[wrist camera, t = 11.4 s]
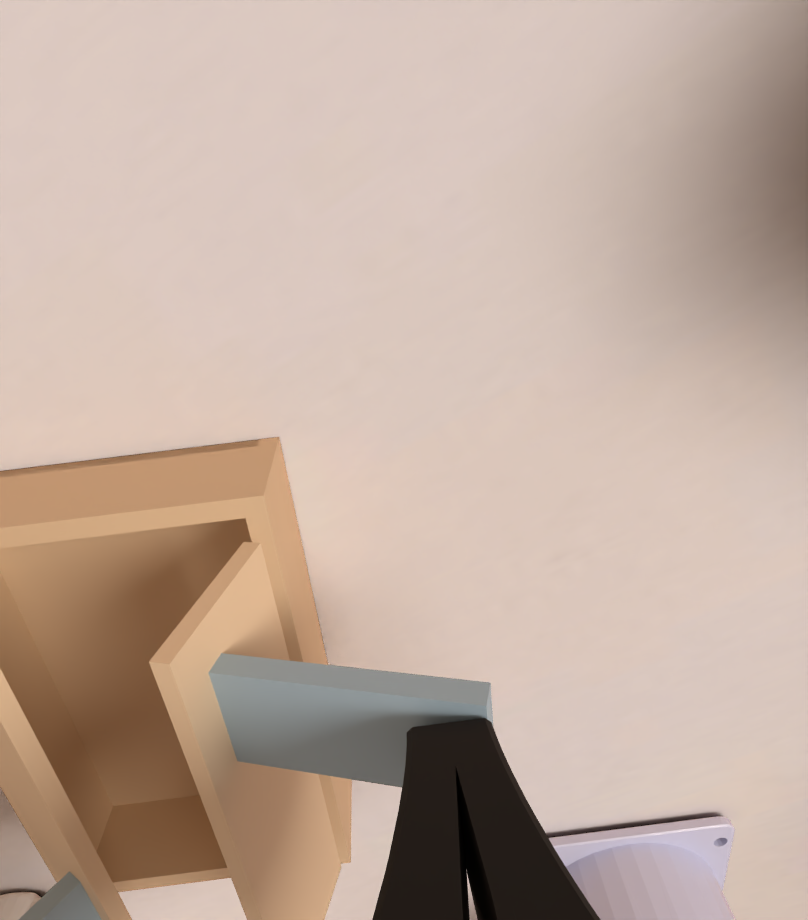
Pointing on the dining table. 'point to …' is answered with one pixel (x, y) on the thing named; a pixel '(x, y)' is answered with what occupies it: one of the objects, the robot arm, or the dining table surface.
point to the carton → (139, 632)
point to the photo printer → (16, 904)
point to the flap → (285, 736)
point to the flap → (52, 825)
